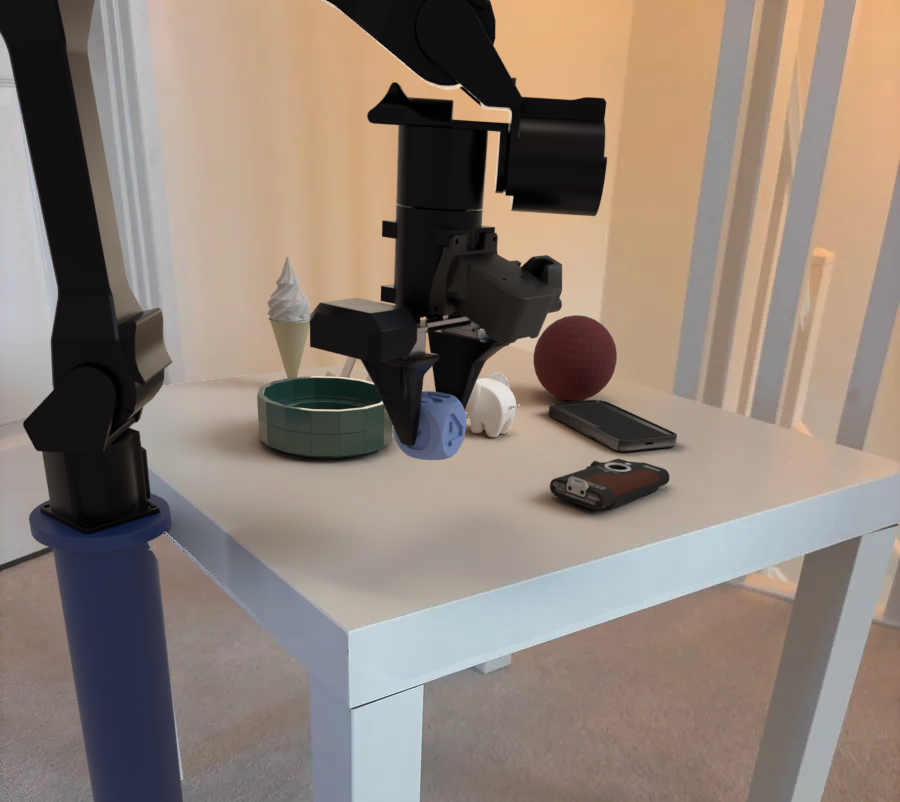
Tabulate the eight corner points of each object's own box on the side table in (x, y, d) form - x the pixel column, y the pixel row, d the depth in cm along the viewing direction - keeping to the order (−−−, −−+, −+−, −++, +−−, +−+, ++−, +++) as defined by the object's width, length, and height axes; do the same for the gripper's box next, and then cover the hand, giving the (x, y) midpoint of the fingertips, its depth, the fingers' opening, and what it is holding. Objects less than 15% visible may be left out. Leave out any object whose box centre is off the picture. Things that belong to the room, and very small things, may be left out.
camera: (543, 470, 80) (613, 448, 88) (542, 500, 81) (611, 476, 89) (603, 483, 76) (672, 460, 84) (601, 515, 77) (668, 489, 85)
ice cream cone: (266, 383, 112) (260, 253, 105) (306, 380, 114) (303, 253, 107) (277, 393, 107) (272, 259, 101) (318, 391, 110) (316, 259, 103)
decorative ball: (603, 415, 107) (615, 327, 102) (521, 403, 109) (528, 318, 105) (616, 395, 115) (627, 313, 111) (539, 385, 118) (547, 305, 113)
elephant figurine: (471, 418, 103) (474, 365, 100) (532, 432, 99) (538, 378, 96) (436, 430, 98) (439, 375, 95) (500, 446, 94) (505, 389, 91)
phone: (601, 399, 108) (681, 435, 96) (600, 408, 109) (679, 445, 97) (544, 403, 105) (620, 442, 93) (543, 413, 105) (618, 452, 94)
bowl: (325, 472, 84) (325, 419, 82) (232, 440, 91) (229, 390, 89) (418, 442, 94) (419, 394, 91) (326, 415, 101) (326, 370, 98)
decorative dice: (465, 450, 68) (468, 397, 66) (440, 464, 65) (443, 409, 63) (418, 440, 70) (420, 388, 68) (391, 453, 66) (393, 399, 64)
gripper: (446, 224, 49) (432, 499, 56) (618, 215, 62) (589, 438, 69) (301, 205, 55) (305, 455, 62) (486, 200, 68) (472, 407, 75)
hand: (428, 438), depth 67 cm, fingers closed on decorative dice, 4 cm apart
